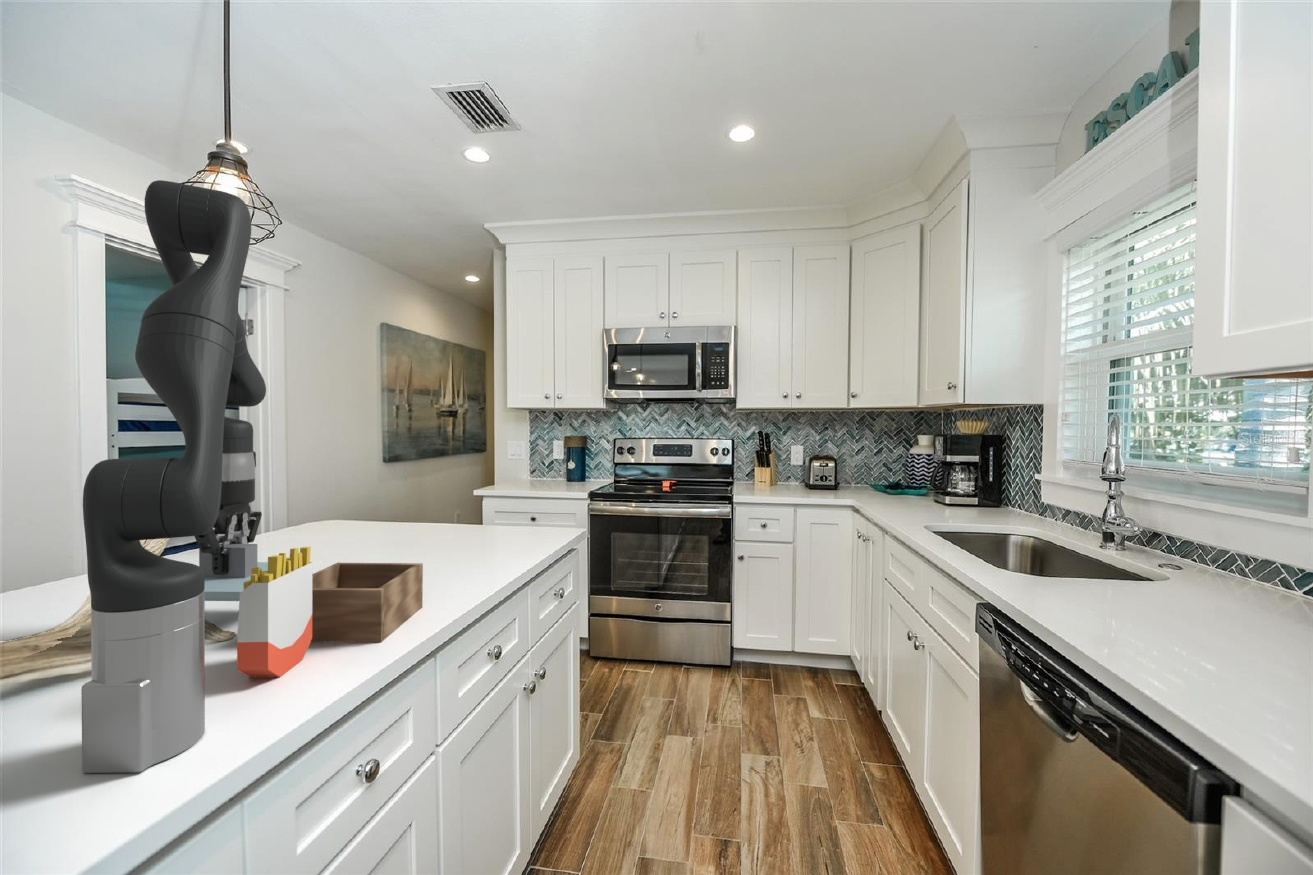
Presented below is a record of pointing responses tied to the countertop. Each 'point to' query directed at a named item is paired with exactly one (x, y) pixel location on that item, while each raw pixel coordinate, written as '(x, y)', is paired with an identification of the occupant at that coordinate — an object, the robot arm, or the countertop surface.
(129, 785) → the countertop surface
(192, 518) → the robot arm
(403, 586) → the wooden box
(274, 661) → the french fries container
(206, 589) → the lid
